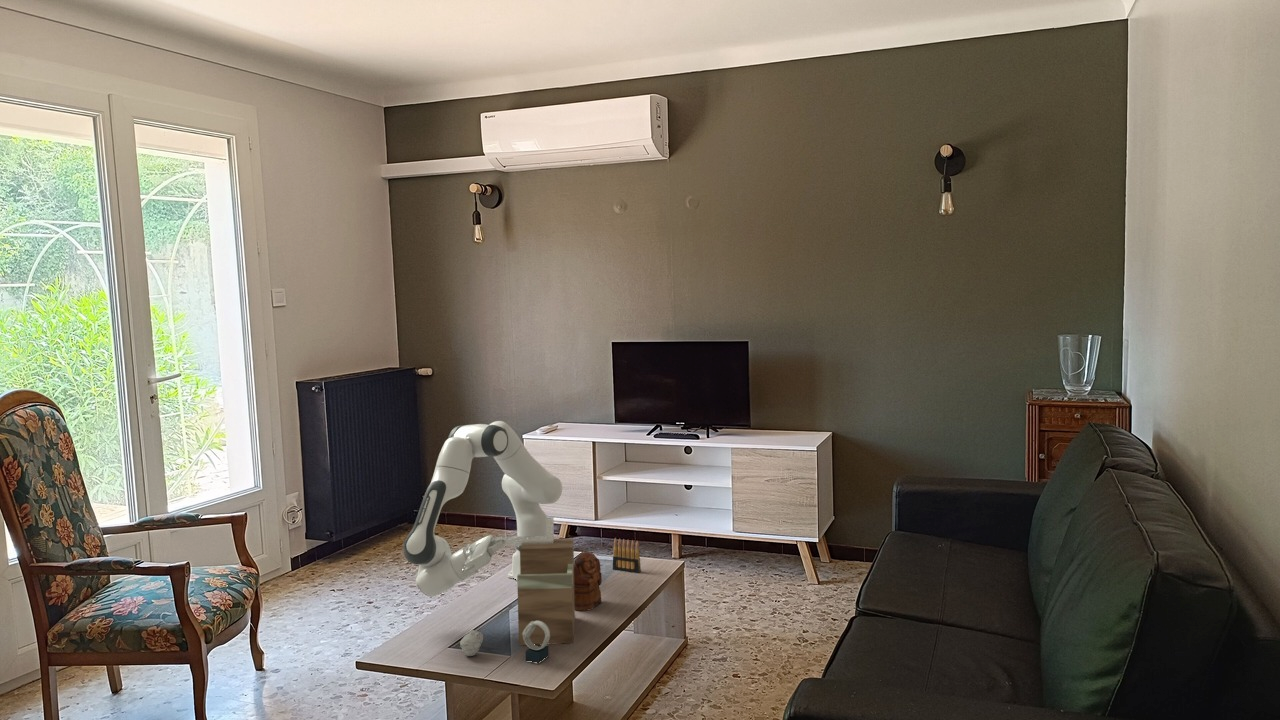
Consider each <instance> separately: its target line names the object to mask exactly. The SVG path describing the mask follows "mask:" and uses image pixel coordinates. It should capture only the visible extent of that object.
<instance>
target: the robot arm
mask: <svg viewBox="0 0 1280 720" xmlns="http://www.w3.org/2000/svg"><path fill="white" fill-rule="evenodd" d="M485 457H490V458H493V459H494V461H496V464H498V466H499V468H500V469H501V471H502V472H503V473H504V474H503V477H502V479H501V488H502V491H503V492H504V493H505V495H506V496H507V497H508V499H509V501H510V502H511V505H512V508H513V511H514V514H515V519H516V534H517V535H516V537H521V536H547V523H546V519H547V517H548V515H547V514H546V513H545V511H544V510H543V509H542V508H541V506H540V505H541V504H542V505H549V504H555V503H556V502H558V501H559V500H560V498H561V497H562V496H561V495H562V492H563V484H562V482H561V480H560V479H559V477H557V476H556V475H554V474H552V473H551V472H549V471H548V470H547V469H546V468H544V466H542V465H541V464H540V462H538V460H536V459H535V458H534V456H532V454H531V453H530V452H529V451H528V448H526V446H525V445H524V443H523V441H522V440H521V438H520V437H519V435H518V434H517V433H516V432H515V431H514V429H513V428H512V427H511V426H510V425H509V424H508V423H506V422H505V421H503V420H496V421H493V422H491V423H489V424H485V423H477V424H461V425H458V426H457V425H456V426H455V427H453V429H452V430H451V431H450V433H449V435H448V438H447V439H446V440H445V441H444V443H443V445H442V447H441V450H440V452H439V454H438V457H437V460H436V464H435V468H434V472H433V475H432V478H431V480H430V481H431V482H429V483H430V484H428V487H427V488H426V490H425V494H424V495H423V498H422V500H421V504H420V507H419V510H418V512H417V516H416V518H415V521H414V524H413V526H412V529H411V530H410V532H409V533H408V534H407V536H406V538H405V539H404V542H403V545H402V551H403V552H402V553H403V556H404V558H405V559H406V560H407V561H408V562H409V563H411V564H413V565H418V571H417V576H416V578H415V584H416V586H417V588H418V589H419V590H420V592H421V593H422V594H424V595H425V596H427V597H431V598H432V597H436V596H439V595H441V594H443V593H445V592H447V591H449V590H451V589H452V588H454V587H455V585H457V584H458V583H460V582H464V581H465V580H466V581H467V579H469V578H471V577H472V576H474V575H476V574H477V573H478V572H479V570H480V569H482V568H483V567H486V566H487V565H489V564H490V563H491V561H492V558H493V555H494V554H495V553H497V552H498V551H499V550H500V549H502V548H503V547H505V546H504V542H503V541H502V540H501V541H499V542H497V543H496V544H495V538H496V537H494V535H492V534H489V535H487V536H484V537H483V538H480V539H478V540H477V541H475V542H473V543H471V544H470V543H468V544H465V545H464V546H463V547H462V548H460V549H459V550H456V551H455V552H454V553H452V548H451V546H450V543H449V542H448V541H447V540H446V539H445V538H443V537H441V536H439V535H435V529H436V526H437V523H438V520H439V516H440V514H441V511H442V508H443V506H444V505H445V504H446V503H447V502H448V501H450V500H452V499H455V498H457V497H459V496H461V495H462V493H464V491H465V488H466V486H467V484H468V482H469V477H470V472H471V467H472V463H473V459H474V458H485ZM499 537H506V535H505V534H502V535H500V536H499ZM520 547H521V546H515V548H516V551H515V552H514V553H513V554H512V560H511V561H512V562H511V565H512V566H511V567H512V568H511V570H510V571H509V572H508V573H507V578H508V579H513V578H514V579H513V580H515V579H516V580H515V581H517V575H518V574H520Z"/></svg>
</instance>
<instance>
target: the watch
mask: <svg viewBox="0 0 1280 720" xmlns="http://www.w3.org/2000/svg"><path fill="white" fill-rule="evenodd" d="M536 625H538V626H540V627H541V628H542V629H543V630H544V632H545V638H544V641H543V643H542V644H541V645H540V644H535V645H534V644H533V643H532V642H531V640H530V638H529V637H530V635H531V634H532V632H533V631H534V630H535V628H536ZM522 635H523V640H524V641H526V642H525V643H526V645H525V646H526V647H528V648H527V650H525V662H526V661H532V662H537V663H539V662H540V661H542V660H543V659H544V658H546V657H547V656H548V655H549V656H550V653H549V650H550V649H549V644H548V642H549V639H550V631H549V628H548V627H547V625H546V624H545V623H544V622H542V621H538V620H536V621H535V622H534V621H531V622H530V623H529V624H528V625H527V626H526V628H525V629H524V631H523V633H522ZM546 659H547V658H546Z"/></svg>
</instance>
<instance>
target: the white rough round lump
mask: <svg viewBox="0 0 1280 720" xmlns="http://www.w3.org/2000/svg"><path fill="white" fill-rule="evenodd" d="M483 640H484V634H483V633H482V632H481V631H478V630H475V629H471V630H470V631H469V632H468V633H466V634H465V635H464V636H463V637H462V638H461V640H460V642H459V645H460V648H461V651H462V653H463V654H464V655H465V656H467V657H473V656H475V655H477V654H478V652H479V650H480V647H481V646H482V643H483Z"/></svg>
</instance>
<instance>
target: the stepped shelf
mask: <svg viewBox="0 0 1280 720" xmlns="http://www.w3.org/2000/svg"><path fill="white" fill-rule="evenodd" d="M574 553H575V549H574V538H573V537H572V538H571V537H569V538H554V544H553V545H528V546H521V547H520V574H518V575H517V580H516V581H517V617H518V618H517V620H518V621H517V622H518V645H519V646H527V645H526V643H525V642H526V641H524V640H523V635H522V633H523V631H524V629H525V628H526V626H527V625H528V624H529V623H530V622H531V621H534V622H535V621H536V620H538V621H542V622H544V623H545V624H546V625H547V627H548V628H549V631H550V639H549V642H548V643H573V644H574V637H573V636H574V633H575V622H576V621H575V619H576V615H575V614H576V613H575V611H576V610H575V601H574V564H575V563H574V562H575V557H574V555H575V554H574ZM529 638H530V640H531V642H532V643H533V644H541V645H542V643H543V641H544V638H545V632H544V630H543V629H542V628H541V627H540V626H538V625H536V628H535V630H534V631H533V632H532V634H531V635H530V637H529Z"/></svg>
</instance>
